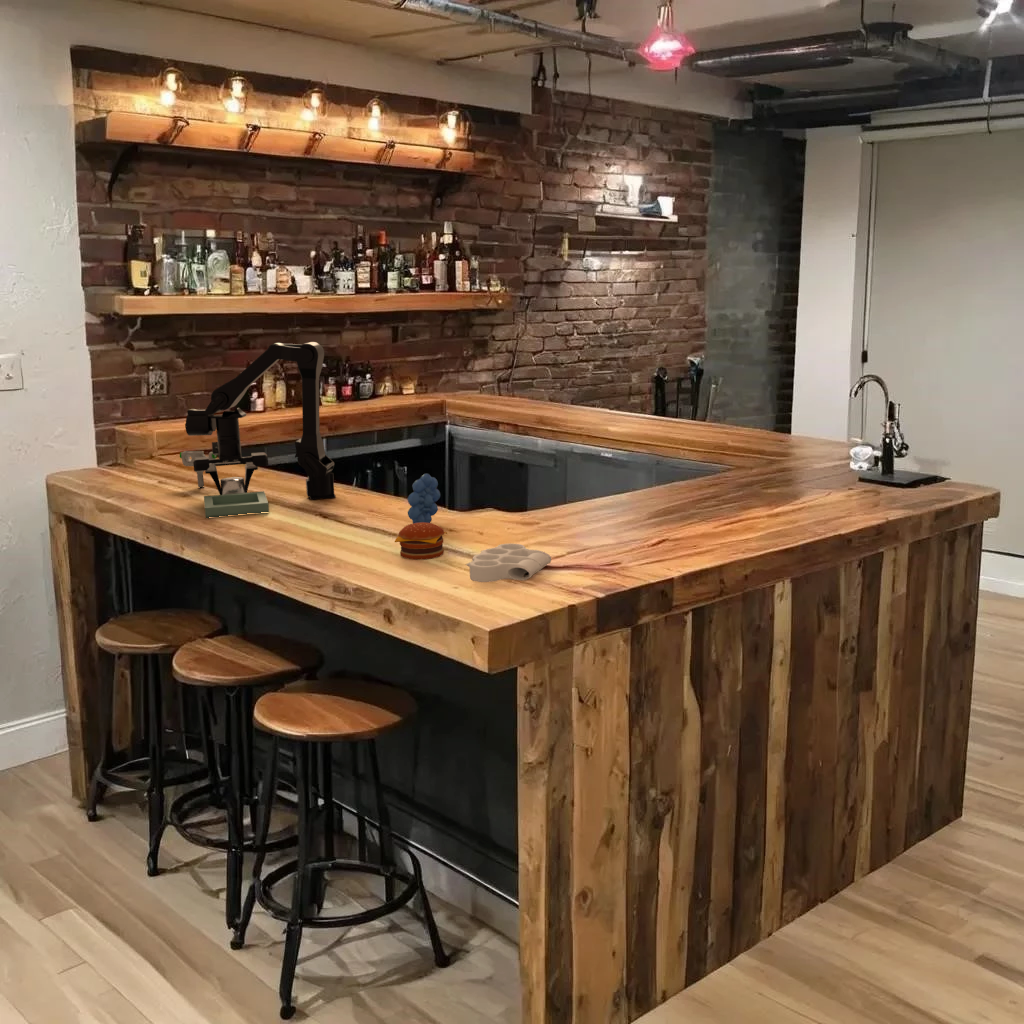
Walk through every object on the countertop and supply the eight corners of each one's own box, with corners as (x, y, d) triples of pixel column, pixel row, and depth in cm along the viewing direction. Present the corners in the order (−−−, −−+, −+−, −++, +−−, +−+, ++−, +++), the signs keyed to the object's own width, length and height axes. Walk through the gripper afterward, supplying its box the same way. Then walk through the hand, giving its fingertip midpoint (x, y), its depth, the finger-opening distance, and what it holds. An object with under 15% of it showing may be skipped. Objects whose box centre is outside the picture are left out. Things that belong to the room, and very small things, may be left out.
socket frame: (264, 501, 290) (264, 491, 290) (269, 513, 276) (268, 502, 276) (204, 506, 286) (203, 496, 286) (205, 518, 272) (204, 508, 272)
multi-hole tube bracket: (523, 587, 210) (452, 581, 215) (557, 562, 226) (490, 557, 231) (523, 570, 209) (451, 564, 214) (556, 546, 225) (489, 541, 231)
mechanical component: (216, 489, 308) (212, 452, 306) (181, 488, 310) (178, 452, 308) (220, 486, 311) (217, 450, 308) (186, 486, 313) (183, 450, 310)
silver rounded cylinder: (244, 494, 299) (243, 476, 298) (246, 499, 293) (244, 480, 292) (221, 496, 297) (220, 478, 296) (222, 501, 292) (220, 482, 291)
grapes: (423, 519, 265) (421, 468, 263) (447, 521, 262) (445, 470, 259) (395, 529, 255) (392, 477, 253) (419, 532, 252) (417, 480, 250)
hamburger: (394, 560, 230) (392, 528, 229) (407, 548, 239) (405, 518, 238) (438, 561, 228) (437, 529, 227) (450, 549, 238) (449, 518, 236)
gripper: (263, 428, 302) (267, 485, 305) (190, 433, 297) (196, 491, 300) (266, 434, 291) (270, 493, 295) (191, 439, 286) (196, 499, 290)
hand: (233, 494), depth 295 cm, fingers closed on silver rounded cylinder, 6 cm apart
